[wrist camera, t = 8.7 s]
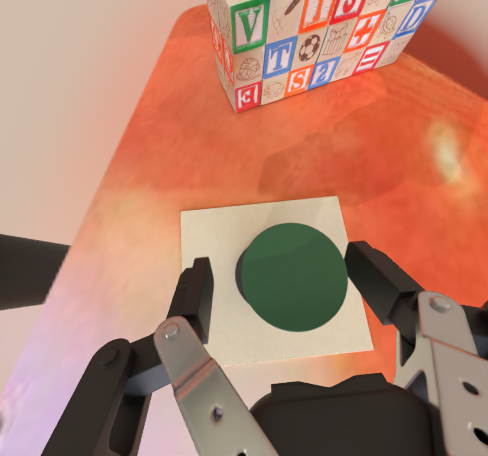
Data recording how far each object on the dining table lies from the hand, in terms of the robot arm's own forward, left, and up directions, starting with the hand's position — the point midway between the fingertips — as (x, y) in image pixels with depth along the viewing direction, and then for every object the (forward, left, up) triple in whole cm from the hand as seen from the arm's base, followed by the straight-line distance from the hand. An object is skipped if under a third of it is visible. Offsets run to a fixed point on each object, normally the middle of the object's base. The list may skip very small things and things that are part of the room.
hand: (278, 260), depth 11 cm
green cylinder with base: (0, -1, -7) cm, 7 cm away
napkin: (0, -1, -7) cm, 7 cm away
